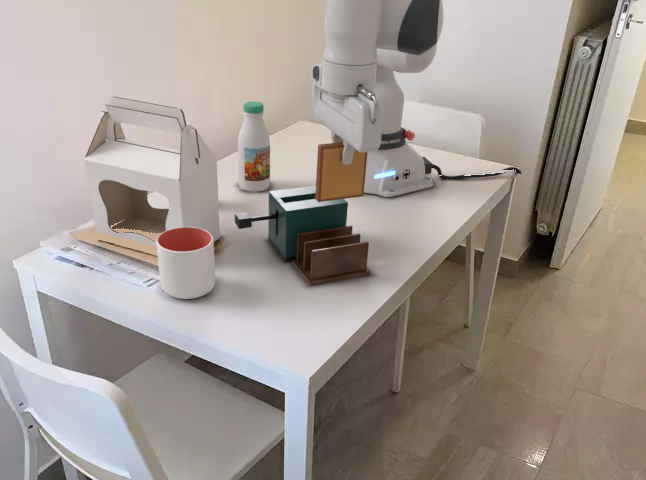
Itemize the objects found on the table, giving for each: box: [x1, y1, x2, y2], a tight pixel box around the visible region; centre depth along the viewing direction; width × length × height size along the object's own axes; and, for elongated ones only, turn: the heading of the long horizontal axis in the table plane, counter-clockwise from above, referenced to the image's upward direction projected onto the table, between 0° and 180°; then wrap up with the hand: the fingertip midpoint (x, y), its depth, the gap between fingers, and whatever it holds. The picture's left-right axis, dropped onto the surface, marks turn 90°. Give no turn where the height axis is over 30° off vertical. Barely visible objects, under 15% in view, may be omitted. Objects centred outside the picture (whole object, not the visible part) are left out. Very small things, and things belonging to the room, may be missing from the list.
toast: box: [315, 142, 368, 202], centre depth 117 cm, size 9×1×10 cm, turn 112°
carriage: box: [234, 211, 278, 230], centre depth 132 cm, size 20×3×2 cm, turn 112°
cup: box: [156, 227, 216, 300], centre depth 120 cm, size 10×10×10 cm
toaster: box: [267, 184, 349, 263], centre depth 135 cm, size 13×11×11 cm
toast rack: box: [291, 225, 371, 286], centre depth 128 cm, size 13×9×7 cm
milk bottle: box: [237, 101, 271, 192], centre depth 157 cm, size 8×8×20 cm
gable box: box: [83, 96, 221, 247], centre depth 130 cm, size 22×13×28 cm, turn 65°
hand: (342, 160), depth 116 cm, fingers closed on toast, 1 cm apart
